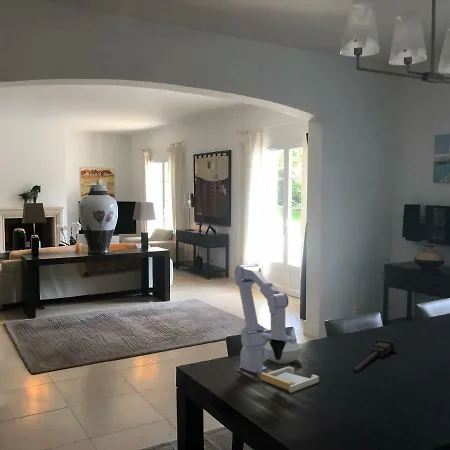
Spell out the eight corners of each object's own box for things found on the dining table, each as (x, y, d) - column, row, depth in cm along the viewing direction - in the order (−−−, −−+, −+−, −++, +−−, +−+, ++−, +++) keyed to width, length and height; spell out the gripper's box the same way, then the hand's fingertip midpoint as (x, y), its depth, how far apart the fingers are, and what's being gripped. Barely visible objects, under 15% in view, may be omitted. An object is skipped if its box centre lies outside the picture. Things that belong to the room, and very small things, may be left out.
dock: (254, 379, 203) (254, 373, 203) (283, 369, 214) (283, 364, 214) (289, 393, 189) (289, 387, 189) (319, 381, 200) (319, 376, 200)
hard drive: (273, 377, 203) (299, 384, 195) (285, 371, 209) (311, 378, 201) (273, 381, 203) (300, 388, 195) (285, 375, 209) (311, 382, 201)
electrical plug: (398, 349, 241) (398, 338, 241) (365, 379, 208) (365, 367, 207) (380, 346, 246) (379, 336, 246) (345, 374, 213) (345, 363, 212)
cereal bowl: (289, 370, 214) (289, 353, 213) (255, 362, 224) (255, 346, 223) (308, 359, 227) (308, 343, 227) (276, 352, 237) (276, 337, 237)
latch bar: (256, 378, 203) (256, 371, 203) (259, 377, 205) (259, 369, 204) (288, 390, 190) (288, 382, 190) (291, 389, 192) (291, 381, 191)
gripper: (299, 324, 197) (299, 359, 198) (266, 320, 205) (266, 353, 206) (291, 328, 191) (291, 364, 192) (257, 323, 199) (258, 358, 200)
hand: (278, 359), depth 199 cm, fingers closed
